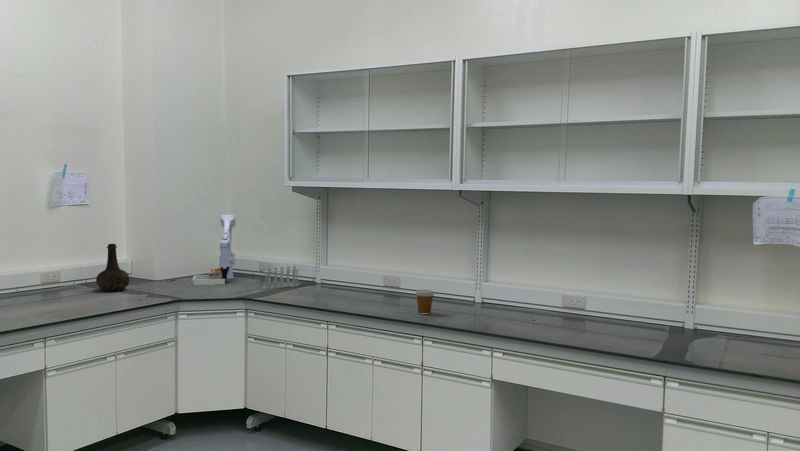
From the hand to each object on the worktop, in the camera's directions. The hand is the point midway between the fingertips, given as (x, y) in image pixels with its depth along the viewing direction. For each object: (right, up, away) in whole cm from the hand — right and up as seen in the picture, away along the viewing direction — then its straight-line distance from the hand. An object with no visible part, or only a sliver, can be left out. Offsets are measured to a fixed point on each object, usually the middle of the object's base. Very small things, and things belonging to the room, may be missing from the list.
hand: (224, 278), depth 387 cm
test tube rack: (+40, -5, -11) cm, 42 cm away
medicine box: (-6, -3, 0) cm, 6 cm away
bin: (-10, -3, -2) cm, 10 cm away
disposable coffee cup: (+129, -12, -80) cm, 153 cm away
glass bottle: (-56, -4, -37) cm, 67 cm away
